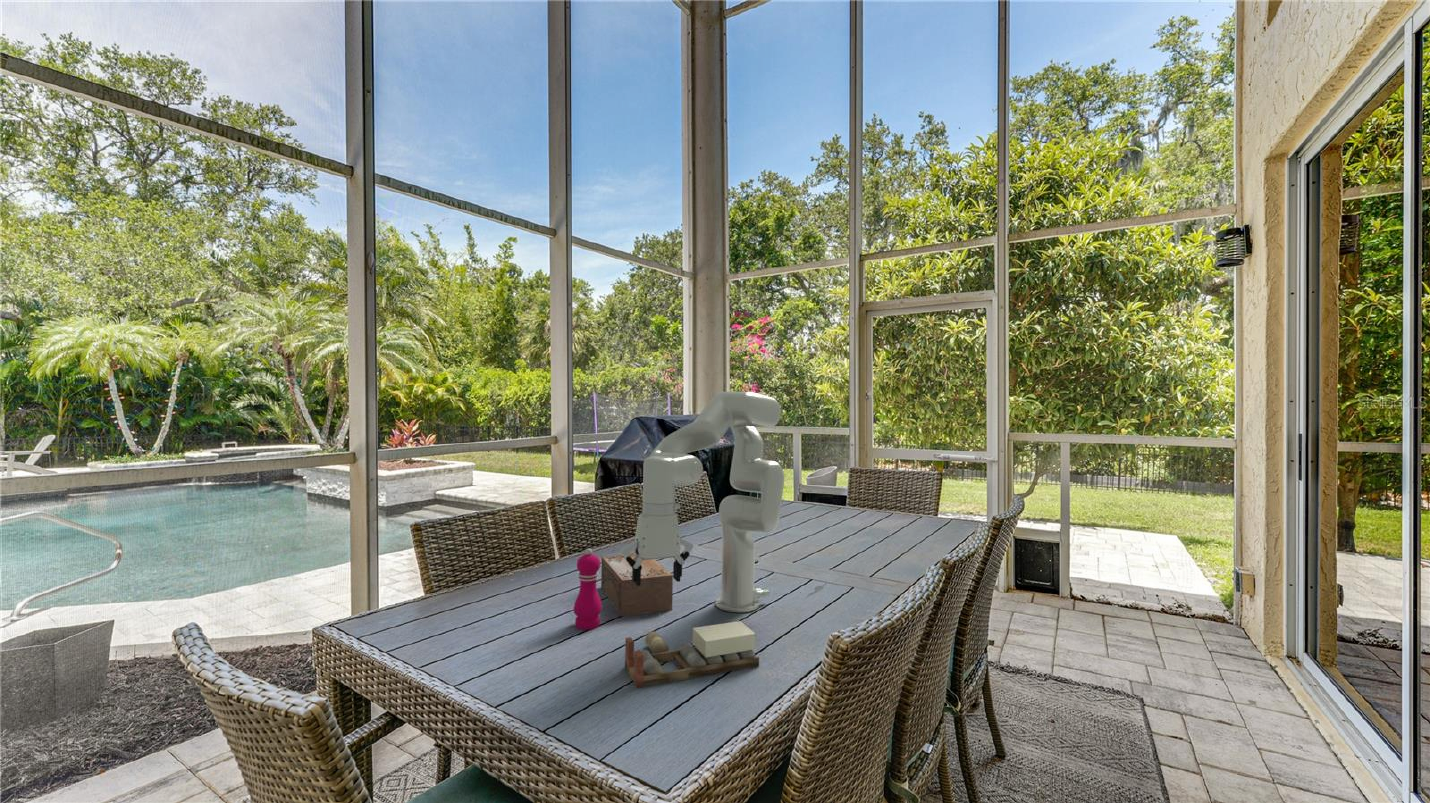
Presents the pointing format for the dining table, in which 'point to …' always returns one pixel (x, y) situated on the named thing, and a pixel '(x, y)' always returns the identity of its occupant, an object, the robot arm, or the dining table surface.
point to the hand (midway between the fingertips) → (657, 582)
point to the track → (681, 664)
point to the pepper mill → (588, 592)
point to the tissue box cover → (630, 596)
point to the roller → (656, 643)
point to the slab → (723, 639)
